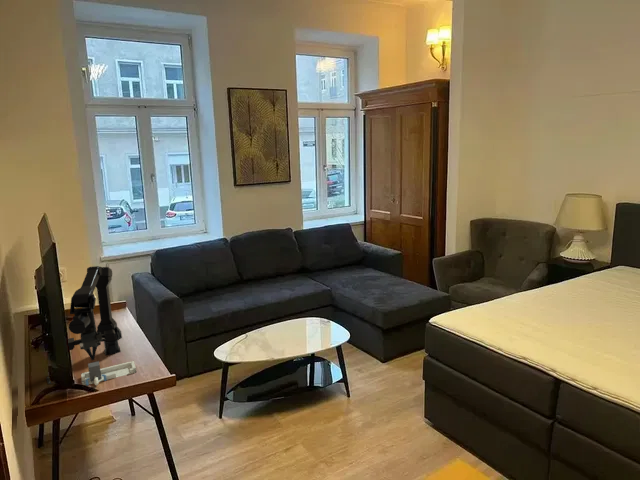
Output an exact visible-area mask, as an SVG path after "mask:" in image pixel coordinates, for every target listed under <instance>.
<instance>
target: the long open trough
mask: <svg viewBox="0 0 640 480" xmlns="http://www.w3.org/2000/svg"><path fill="white" fill-rule="evenodd" d="M100 371H101V378H102V379H99V380H98V383H100V382H103V381H104V382H106V381H108V380H112V379H115V378H120V377H123V376H127V375H131V374H136V373H137V367H136V364H135V361H134V360H132V361H128V362H123V363H119V364H115V365H111V366H106V367H102V368H100ZM80 375H81V385H85V386H89V385H91V384H95V383H94V381H90V375H89V371H85V372H82V373H80Z"/></svg>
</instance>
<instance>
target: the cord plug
mask: <svg viewBox="0 0 640 480" xmlns="http://www.w3.org/2000/svg"><path fill="white" fill-rule="evenodd" d="M87 367H88V372H89V375H90V381H94V383H93V384H94V385H95V386H98V385H99V382H98V380H99V379H102V378H101V371H100V369H101V367H100V360H98V361H93V362H90V363H89V362H88V363H87Z"/></svg>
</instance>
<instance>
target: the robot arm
mask: <svg viewBox="0 0 640 480" xmlns="http://www.w3.org/2000/svg"><path fill="white" fill-rule="evenodd" d="M112 277H113V270H112V268H110V267H109V266H99V265H96V266H95V265H94V266H89V267H87V269H86V275H85V276H84V280H83V282H82V283H81V286H80V288H78V289H76V290H75V292H74V293H73V294H72V296H71V298H70V309H69V314H70V315H73V316H72V320H71V321H70V322H69V324H68V329H69V332H71V333H72V334H74V335H80V339H75V338H74V337H70V338H67V339H68V346H69V351H73V350H74V349H75V346H79V349H80V350H84V351H85V352H86V353H87V355H88V356H89V358H90V360H91V361H94V360H95V359H96V353H97V350H98V347H100V346H102V345H101V342H103V345H104V349H103V351H104V356H109V355H114V354H118V353H121V352H122V350H121V347H120V346H119V341H120V340H121V339H123V335H122V330H121V329H120V328H119V327H118V323H117V321H116V320H115V319H114V318H113V313H112V305H111V297H110V288H109V286H110V284H111V282H112V280H113V278H112ZM95 289H96V293H97V297H98V298H97V300H96V297H95V294H94V292H95ZM96 301H98V308H99V315H100V317H99V318H100V321H99V323H98V325H96V320H95V319H96V318H95V314H94V310H95V307H96ZM91 349H92V350H91Z"/></svg>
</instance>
